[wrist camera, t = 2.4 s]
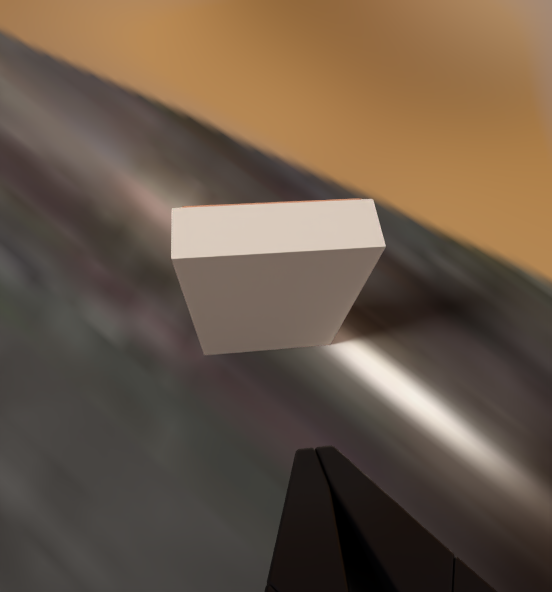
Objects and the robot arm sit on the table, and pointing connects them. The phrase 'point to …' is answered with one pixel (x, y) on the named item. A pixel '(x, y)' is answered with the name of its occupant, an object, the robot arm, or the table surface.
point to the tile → (273, 270)
